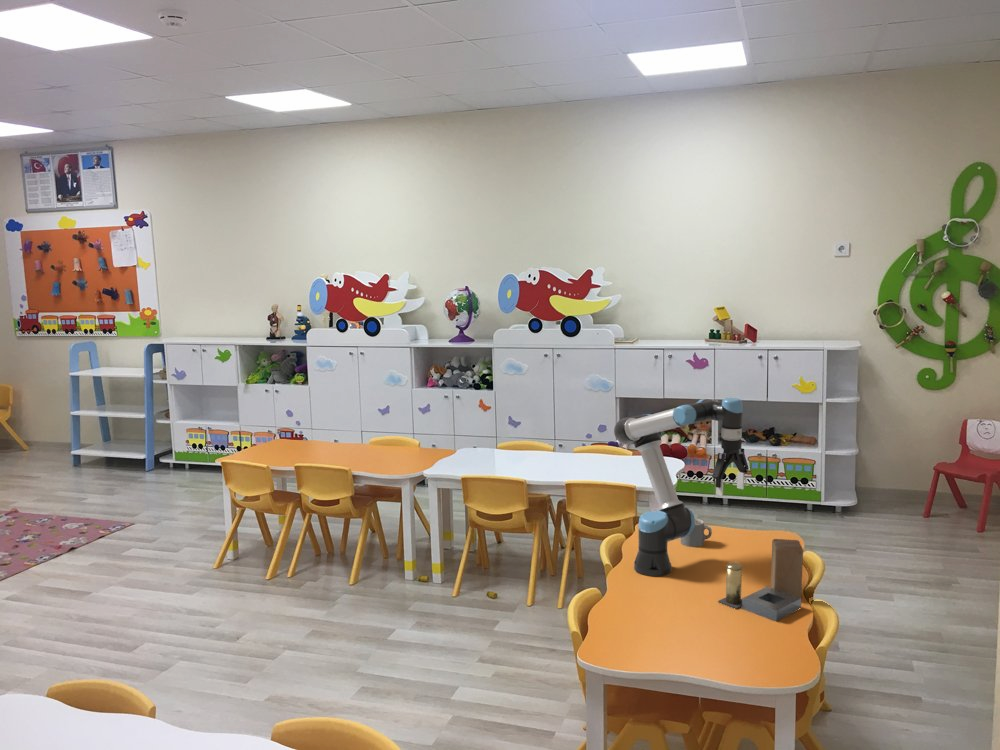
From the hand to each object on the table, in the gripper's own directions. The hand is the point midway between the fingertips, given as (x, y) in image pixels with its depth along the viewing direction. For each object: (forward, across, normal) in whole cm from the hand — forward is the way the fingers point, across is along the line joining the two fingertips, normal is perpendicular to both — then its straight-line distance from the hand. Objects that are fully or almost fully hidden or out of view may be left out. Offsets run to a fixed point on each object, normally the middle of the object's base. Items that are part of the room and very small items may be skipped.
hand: (730, 492), depth 316 cm
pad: (+37, -15, -13) cm, 42 cm away
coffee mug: (+37, +26, +35) cm, 57 cm away
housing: (+37, -9, -25) cm, 45 cm away
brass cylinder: (+36, -15, -13) cm, 41 cm away
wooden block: (+37, +7, -21) cm, 43 cm away
